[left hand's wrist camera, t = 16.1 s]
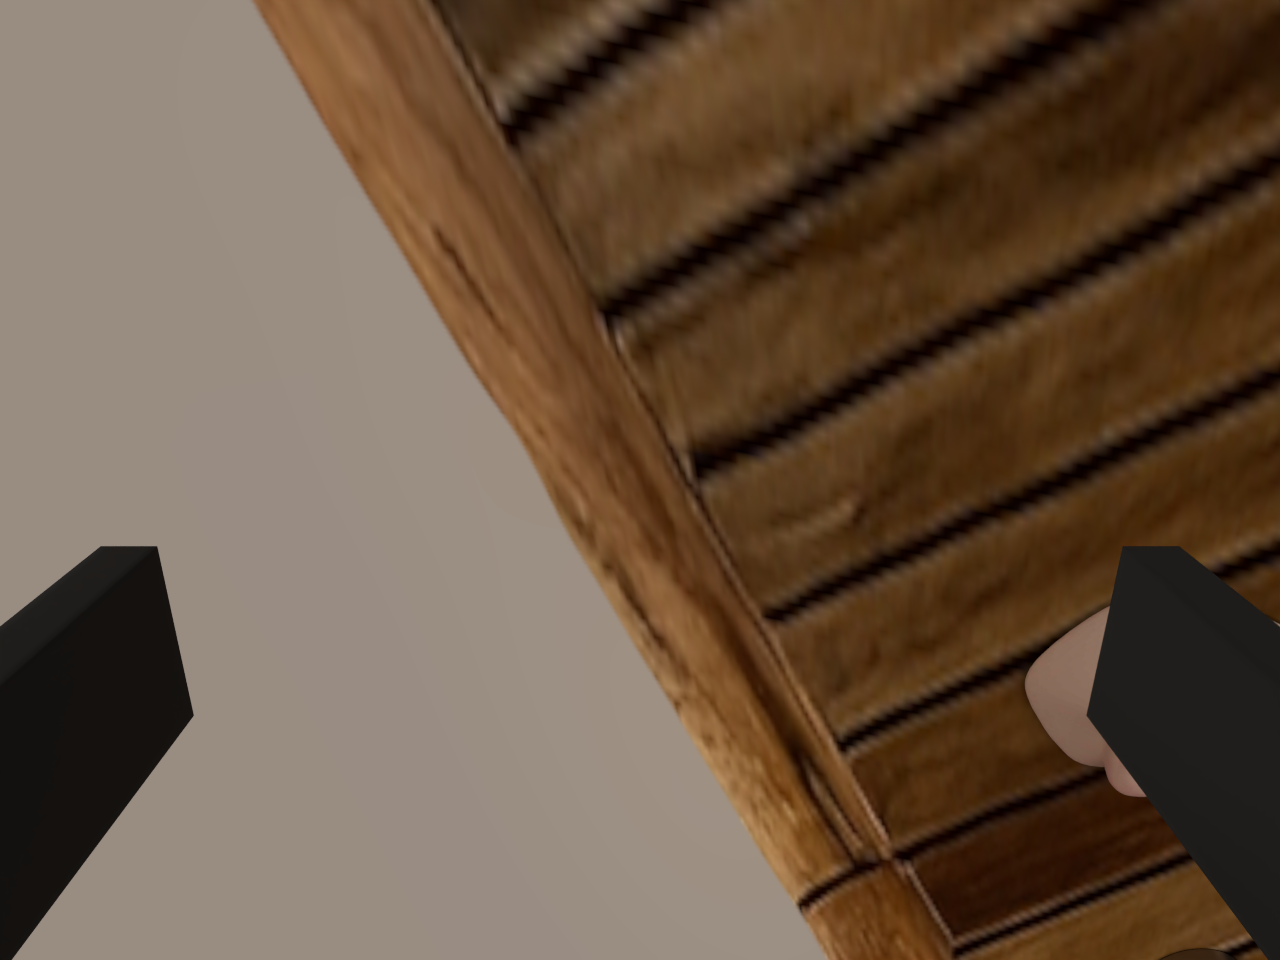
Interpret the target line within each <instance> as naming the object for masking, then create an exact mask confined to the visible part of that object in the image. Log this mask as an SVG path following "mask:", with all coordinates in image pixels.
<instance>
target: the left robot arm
mask: <svg viewBox="0 0 1280 960" xmlns="http://www.w3.org/2000/svg"><path fill="white" fill-rule="evenodd" d="M193 716H194V715H193V710H192V705H191V701H190V696H189V691H188V687H187V682H186V678H185V673H184V668H183V664H182V659H181V654H180V650H179V645H178V641H177V636H176V631H175V627H174V622H173V617H172V613H171V608H170V604H169V599H168V594H167V590H166V585H165V580H164V576H163V571H162V566H161V562H160V557H159V553H158V548H157V546H101V547H99V548H98V549H97V550H96V551H94V552H93V553H92V554H91V555H89V556H88V557H87V558H86V559H84V560H83V561H82V562H81V563H79V564H78V565H77V566H76V567H74V568H73V569H72V570H71V571H69V572H68V573H67V574H66V575H64V576H63V577H62V578H61V579H59V580H58V581H57V582H55V583H54V584H53V585H52V586H51V587H49V588H48V589H47V590H45V591H44V592H43V593H42V594H40V595H39V596H38V597H37V598H35V599H34V600H33V601H32V602H30V603H29V604H28V605H27V606H25V607H24V608H23V609H22V610H20V611H19V612H18V613H17V614H15V615H14V616H13V617H12V618H10V619H9V620H8V621H6V622H5V623H4V624H3V625H2V626H0V960H12V959H13V957H14V956H15V955H16V953H17V952H18V951H19V949H20V948H21V947H22V945H23V944H24V943H25V941H26V940H27V938H28V937H29V936H30V934H31V933H32V932H33V930H34V929H35V928H36V926H37V925H38V924H39V922H40V921H41V920H42V918H43V917H44V916H45V914H46V913H47V912H48V910H49V909H50V908H51V906H52V905H53V904H54V902H55V901H56V900H57V898H58V897H59V896H60V894H61V893H62V892H63V890H64V889H65V888H66V886H67V885H68V884H69V882H70V881H71V880H72V878H73V877H74V876H75V874H76V873H77V871H78V870H79V869H80V867H81V866H82V865H83V863H84V862H85V861H86V859H87V858H88V857H89V855H90V854H91V853H92V851H93V850H94V849H95V847H96V846H97V845H98V843H99V842H100V841H101V839H102V838H103V837H104V835H105V834H106V833H107V831H108V830H109V829H110V827H111V826H112V825H113V823H114V822H115V821H116V819H117V818H118V817H119V815H120V814H121V812H122V811H123V810H124V808H125V807H126V806H127V804H128V803H129V802H130V800H131V799H132V798H133V796H134V795H135V794H136V792H137V791H138V790H139V788H140V787H141V786H142V784H143V783H144V782H145V780H146V779H147V778H148V776H149V775H150V774H151V772H152V771H153V770H154V768H155V767H156V765H157V764H158V763H159V761H160V760H161V759H162V757H163V756H164V755H165V753H166V752H167V751H168V749H169V748H170V747H171V745H172V744H173V743H174V741H175V740H176V739H177V737H178V736H179V735H180V733H181V732H182V731H183V729H184V728H185V727H186V725H187V724H188V723H189V721H190V720H191V719H192V717H193ZM1086 716H1087V717H1088V719H1089V720H1090V721H1091V723H1092V724H1093V725H1094V727H1095V728H1096V729H1097V731H1098V732H1099V733H1100V735H1101V736H1102V737H1103V739H1104V740H1105V741H1106V743H1107V744H1108V745H1109V747H1110V748H1111V749H1112V751H1113V752H1114V753H1115V755H1116V756H1117V757H1118V759H1119V760H1120V762H1121V763H1122V764H1123V766H1124V767H1125V768H1126V770H1127V771H1128V772H1129V774H1130V775H1131V776H1132V778H1133V779H1134V780H1135V782H1136V783H1137V784H1138V786H1139V787H1140V788H1141V790H1142V791H1143V792H1144V794H1145V795H1146V796H1147V798H1148V799H1149V800H1150V802H1151V803H1152V804H1153V806H1154V807H1155V808H1156V810H1157V811H1158V812H1159V814H1160V815H1161V817H1162V818H1163V819H1164V821H1165V822H1166V823H1167V825H1168V826H1169V827H1170V829H1171V830H1172V831H1173V833H1174V834H1175V835H1176V837H1177V838H1178V839H1179V841H1180V842H1181V843H1182V845H1183V846H1184V847H1185V849H1186V850H1187V851H1188V853H1189V854H1190V855H1191V857H1192V858H1193V859H1194V861H1195V862H1196V863H1197V865H1198V866H1199V867H1200V869H1201V870H1202V871H1203V873H1204V874H1205V876H1206V877H1207V878H1208V880H1209V881H1210V882H1211V884H1212V885H1213V886H1214V888H1215V889H1216V890H1217V892H1218V893H1219V894H1220V896H1221V897H1222V898H1223V900H1224V901H1225V902H1226V904H1227V905H1228V906H1229V908H1230V909H1231V910H1232V912H1233V913H1234V914H1235V916H1236V917H1237V918H1238V920H1239V921H1240V922H1241V924H1242V925H1243V926H1244V928H1245V929H1246V930H1247V932H1248V933H1249V935H1250V936H1251V937H1252V939H1253V940H1254V941H1255V943H1256V944H1257V945H1258V947H1259V948H1260V949H1261V951H1262V952H1263V953H1264V955H1265V956H1266V957H1267V959H1268V960H1280V626H1279V625H1277V624H1276V623H1275V622H1274V621H1272V620H1271V619H1270V618H1269V617H1267V616H1266V615H1265V614H1263V613H1262V612H1261V611H1260V610H1258V609H1257V608H1256V607H1255V606H1253V605H1252V604H1251V603H1250V602H1248V601H1247V600H1246V599H1245V598H1243V597H1242V596H1241V595H1240V594H1238V593H1237V592H1236V591H1235V590H1233V589H1232V588H1231V587H1230V586H1228V585H1227V584H1226V583H1225V582H1223V581H1222V580H1221V579H1220V578H1218V577H1217V576H1216V575H1214V574H1213V573H1212V572H1211V571H1209V570H1208V569H1207V568H1206V567H1204V566H1203V565H1202V564H1201V563H1199V562H1198V561H1197V560H1196V559H1194V558H1193V557H1192V556H1191V555H1189V554H1188V553H1187V552H1186V551H1184V550H1183V549H1182V548H1181V547H1179V546H1123V548H1122V553H1121V557H1120V562H1119V566H1118V571H1117V576H1116V580H1115V585H1114V590H1113V594H1112V599H1111V604H1110V608H1109V613H1108V617H1107V622H1106V627H1105V631H1104V636H1103V641H1102V645H1101V650H1100V654H1099V659H1098V664H1097V668H1096V673H1095V678H1094V682H1093V687H1092V691H1091V696H1090V701H1089V705H1088V710H1087V715H1086Z"/></svg>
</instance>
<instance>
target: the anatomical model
mask: <svg viewBox="0 0 1280 960" xmlns="http://www.w3.org/2000/svg"><path fill="white" fill-rule="evenodd" d="M1109 608H1110V606H1109V607H1107V608H1105V609H1103V610H1101V611H1100V612H1098V613H1096V614H1094V615H1093V616H1091V617H1089V618H1088V619H1086V620H1085V621H1084V622H1082V623H1081V624H1079V625H1078V626H1076V627H1075V628H1073V629H1072V630H1071V631H1069V632H1068V633H1067V634H1065V635H1064V636H1063V637H1062V638H1060V639H1059V640H1058V641H1056V642H1055V643H1054V644H1053V645H1052V646H1051V647H1049V648H1048V649H1047V650H1046V651H1045V652H1044V653H1043V654H1042V655H1041V656H1040V657H1039V658H1038V659H1037V660H1036V661H1035V662H1034V664H1033V665H1032V666H1031V668H1030V669H1029V671H1028V674H1027V676H1026V680H1025V690H1026V694H1027V697H1028V699H1029V702H1030V704H1031V706H1032V708H1033V710H1034V712H1035V713H1036V715H1037V717H1038V718H1039V720H1040V722H1041V723H1042V725H1043V727H1044V728H1045V730H1046V731H1047V733H1048V734H1049V736H1050V737H1051V738H1052V739H1053V740H1054V741H1055V742H1056V744H1057V745H1058V746H1059V747H1060V748H1061V749H1062V750H1063V751H1064V752H1065V753H1066V754H1067V755H1068V756H1069V757H1071V758H1072V759H1073V760H1075V761H1077V762H1079V763H1081V764H1085V765H1089V766H1098V767H1105V770H1106V774H1107V777H1108V779H1109V781H1110V783H1111V784H1112V786H1113V787H1114V788H1115V789H1116V790H1117V791H1119V792H1120V793H1122V794H1125V795H1129V796H1137V797H1147V796H1146V795H1145V794H1144V792H1143V791H1142V790H1141V788H1140V787H1139V786H1138V784H1137V783H1136V782H1135V780H1134V779H1133V778H1132V776H1131V775H1130V774H1129V772H1128V771H1127V770H1126V768H1125V767H1124V766H1123V764H1122V763H1121V762H1120V760H1119V759H1118V757H1117V756H1116V755H1115V753H1114V752H1113V751H1112V749H1111V748H1110V747H1109V745H1108V744H1107V743H1106V741H1105V740H1104V739H1103V737H1102V736H1101V735H1100V733H1099V732H1098V731H1097V729H1096V728H1095V727H1094V725H1093V724H1092V723H1091V721H1090V720H1089V719H1088V717H1087V716H1086V715H1087V710H1088V705H1089V701H1090V696H1091V691H1092V687H1093V682H1094V678H1095V673H1096V668H1097V664H1098V659H1099V654H1100V650H1101V645H1102V641H1103V636H1104V631H1105V627H1106V622H1107V617H1108V613H1109ZM1275 623H1276V622H1275ZM1276 624H1277V625H1279V626H1280V624H1278V623H1276Z"/></svg>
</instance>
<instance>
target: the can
mask: <svg viewBox="0 0 1280 960" xmlns="http://www.w3.org/2000/svg"><path fill="white" fill-rule="evenodd" d="M1161 960H1236V959H1235V958H1234V957H1232V956H1230V955H1228V954H1226V953H1223V952H1220V951H1216V950H1210V949H1192V950H1186V951H1182V952H1178V953H1175V954H1172V955H1169V956H1167V957H1165V958H1163V959H1161Z"/></svg>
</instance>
